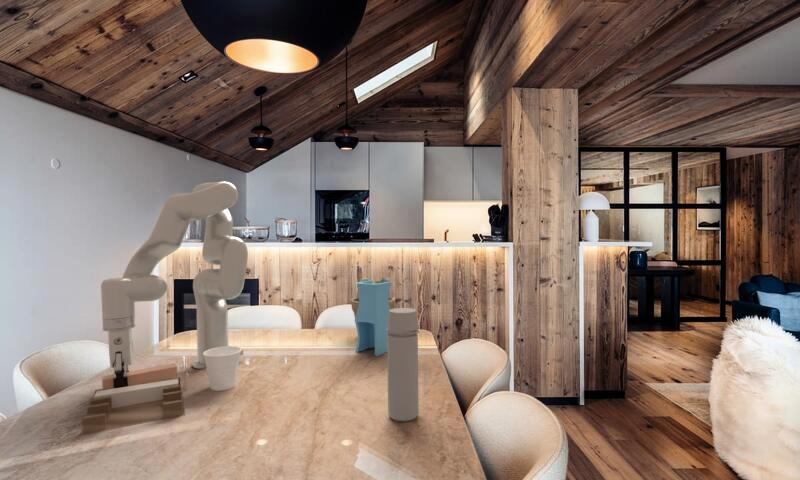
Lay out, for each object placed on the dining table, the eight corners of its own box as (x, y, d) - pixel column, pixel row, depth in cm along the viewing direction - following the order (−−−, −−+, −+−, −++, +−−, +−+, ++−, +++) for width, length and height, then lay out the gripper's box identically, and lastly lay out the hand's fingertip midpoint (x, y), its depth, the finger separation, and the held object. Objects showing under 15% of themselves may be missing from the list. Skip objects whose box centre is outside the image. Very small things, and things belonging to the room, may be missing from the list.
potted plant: (345, 341, 172) (344, 278, 172) (358, 330, 191) (357, 273, 190) (391, 342, 169) (390, 278, 169) (399, 331, 188) (398, 274, 187)
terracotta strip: (174, 379, 130) (173, 363, 130) (177, 383, 127) (177, 366, 127) (101, 394, 118) (101, 376, 118) (103, 399, 115) (102, 380, 115)
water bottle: (409, 426, 97) (408, 314, 96) (380, 418, 101) (379, 311, 100) (429, 411, 104) (428, 308, 104) (401, 404, 109) (400, 305, 108)
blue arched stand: (392, 349, 160) (392, 281, 159) (377, 355, 151) (376, 284, 151) (371, 345, 165) (370, 280, 164) (355, 351, 157) (354, 283, 156)
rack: (93, 407, 109) (92, 390, 109) (182, 392, 118) (182, 376, 118) (79, 440, 92) (79, 419, 92) (185, 420, 101) (184, 401, 101)
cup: (249, 386, 123) (249, 347, 123) (225, 399, 114) (224, 357, 113) (221, 382, 126) (220, 345, 126) (195, 395, 117) (194, 354, 117)
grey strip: (178, 391, 116) (178, 378, 116) (178, 396, 112) (178, 383, 112) (96, 405, 107) (96, 391, 107) (94, 411, 104) (94, 396, 104)
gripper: (133, 327, 113) (136, 396, 114) (136, 316, 128) (139, 376, 129) (98, 331, 110) (101, 402, 111) (106, 319, 125) (109, 381, 125)
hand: (121, 387), depth 120 cm, fingers open, 4 cm apart
